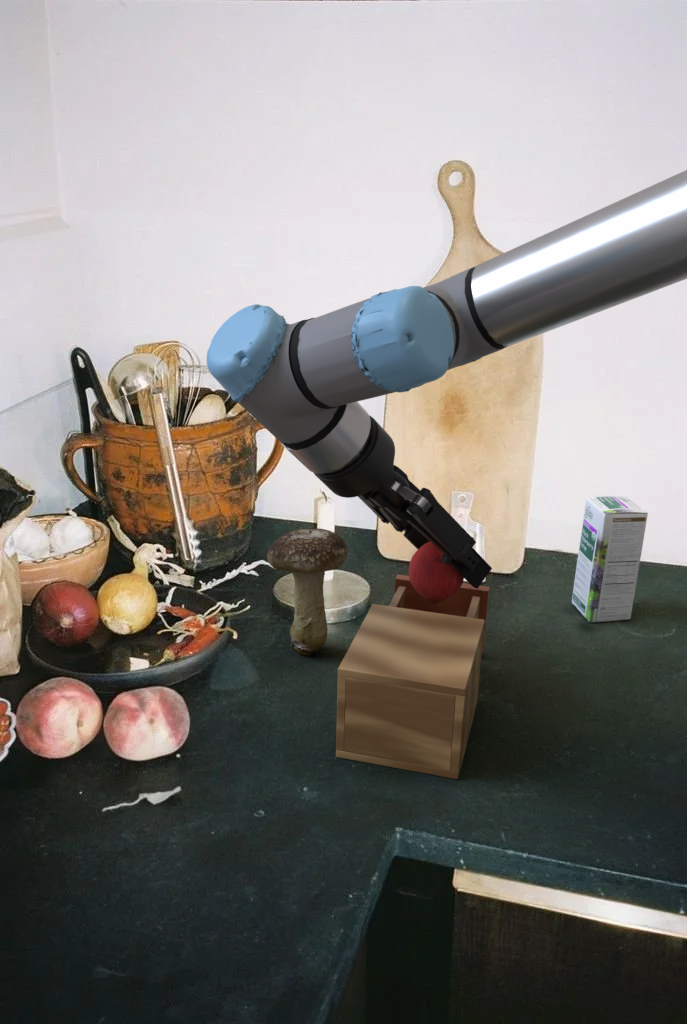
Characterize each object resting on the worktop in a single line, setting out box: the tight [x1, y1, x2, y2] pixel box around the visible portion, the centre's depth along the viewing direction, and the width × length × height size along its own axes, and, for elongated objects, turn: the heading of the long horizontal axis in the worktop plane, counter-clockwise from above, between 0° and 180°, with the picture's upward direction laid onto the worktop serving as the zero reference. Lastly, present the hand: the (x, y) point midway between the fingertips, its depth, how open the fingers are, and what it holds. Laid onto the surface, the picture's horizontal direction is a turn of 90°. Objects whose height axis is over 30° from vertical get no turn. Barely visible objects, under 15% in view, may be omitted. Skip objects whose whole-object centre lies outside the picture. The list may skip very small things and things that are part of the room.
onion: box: [408, 542, 465, 604], centre depth 98 cm, size 6×6×8 cm
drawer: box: [388, 574, 490, 654], centre depth 103 cm, size 17×10×8 cm, turn 165°
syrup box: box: [571, 495, 649, 623], centre depth 115 cm, size 6×6×14 cm
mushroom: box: [266, 528, 349, 656], centre depth 103 cm, size 9×9×15 cm
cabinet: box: [335, 603, 485, 780], centre depth 91 cm, size 14×12×10 cm
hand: (462, 566), depth 100 cm, fingers closed on onion, 6 cm apart
